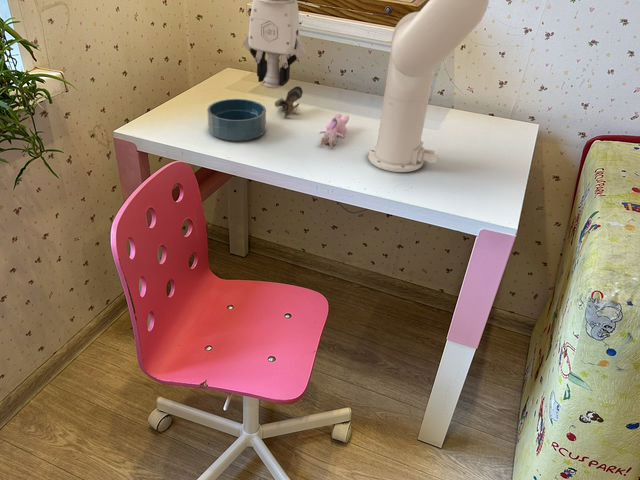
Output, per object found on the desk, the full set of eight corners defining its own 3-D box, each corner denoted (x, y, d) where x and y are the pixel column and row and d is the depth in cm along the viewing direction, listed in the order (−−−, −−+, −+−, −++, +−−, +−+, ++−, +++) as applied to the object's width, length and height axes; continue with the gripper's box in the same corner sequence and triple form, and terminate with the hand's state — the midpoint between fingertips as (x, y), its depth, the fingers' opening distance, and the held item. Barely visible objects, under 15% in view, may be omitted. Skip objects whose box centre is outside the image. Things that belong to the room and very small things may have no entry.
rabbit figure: (338, 155, 133) (355, 123, 143) (339, 133, 129) (356, 102, 139) (313, 150, 135) (331, 119, 145) (313, 128, 131) (332, 98, 140)
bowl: (274, 126, 143) (275, 105, 139) (250, 147, 132) (250, 125, 129) (225, 115, 147) (224, 95, 144) (198, 135, 137) (196, 114, 133)
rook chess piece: (287, 86, 124) (288, 48, 119) (273, 90, 122) (274, 52, 117) (272, 80, 127) (273, 44, 122) (258, 85, 124) (259, 47, 119)
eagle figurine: (307, 115, 146) (308, 97, 152) (293, 94, 142) (295, 76, 148) (282, 127, 149) (285, 109, 155) (267, 107, 145) (271, 89, 151)
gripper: (230, -11, 112) (231, 80, 123) (309, 0, 107) (302, 94, 118) (246, -17, 118) (245, 71, 129) (321, -7, 113) (314, 83, 124)
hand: (272, 81), depth 124 cm, fingers closed on rook chess piece, 4 cm apart
